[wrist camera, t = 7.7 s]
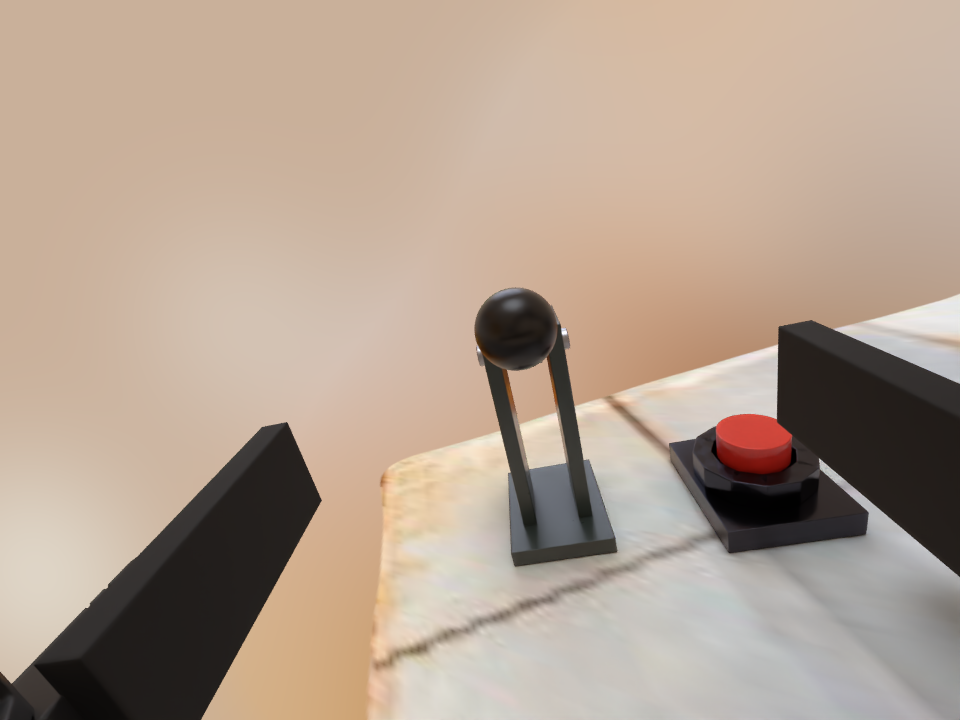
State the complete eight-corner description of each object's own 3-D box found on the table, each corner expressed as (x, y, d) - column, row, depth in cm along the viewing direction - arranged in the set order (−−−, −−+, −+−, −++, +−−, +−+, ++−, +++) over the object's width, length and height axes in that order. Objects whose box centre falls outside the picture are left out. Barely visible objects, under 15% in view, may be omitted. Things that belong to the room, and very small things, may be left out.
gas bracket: (617, 551, 30) (584, 332, 24) (514, 566, 30) (459, 357, 25) (590, 470, 38) (561, 294, 32) (510, 484, 39) (469, 313, 33)
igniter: (806, 469, 28) (808, 442, 28) (735, 480, 29) (734, 454, 28) (767, 433, 32) (767, 409, 32) (705, 443, 33) (704, 419, 32)
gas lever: (567, 359, 17) (549, 270, 17) (477, 377, 18) (461, 289, 18) (554, 369, 30) (543, 318, 30) (502, 379, 31) (492, 328, 31)
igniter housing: (866, 534, 27) (871, 487, 25) (728, 553, 28) (727, 509, 26) (770, 443, 36) (771, 406, 35) (670, 460, 37) (667, 424, 36)
